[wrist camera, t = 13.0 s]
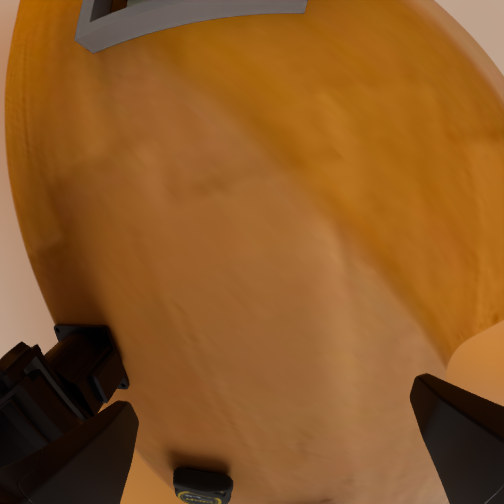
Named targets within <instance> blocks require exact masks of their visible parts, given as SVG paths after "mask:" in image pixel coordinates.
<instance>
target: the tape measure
mask: <svg viewBox="0 0 504 504" xmlns="http://www.w3.org/2000/svg"><path fill="white" fill-rule="evenodd" d="M173 475H174V476H173V485H174V487H175V494H176V496H177V497H178V498H179V499H180V500H182V501H183V502H186V503H188V504H228V503H229V501H230V498H231V492H232V490H233V480H232V479H231V478H230V477H229V476H226V475H221V474H214V473H208V472H201V471H195V470H190V469H185V468H176V469H174V473H173Z"/></svg>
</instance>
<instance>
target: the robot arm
mask: <svg viewBox="0 0 504 504" xmlns="http://www.w3.org/2000/svg"><path fill="white" fill-rule="evenodd" d="M54 330H55V333H56V336H57V339H58V341H59V342H58V343H57V344H56V345H55V346H54V347H53V348H52V349H50V350H49V351H48V352H47V353H46V354H45V355H43V354H42V352H41V349H40V347H39V346H38V344H36V345H34V346H33V347H31V348H30V347H29V346H28V345H26V344H25V343H23V342H20V343H19V344H17V345H16V346H15V347H14V348H12V349H11V350H10V351H9V352H7V353H6V354H5V355H4V356H3V357H2V358H1V359H0V504H120V501H121V497H122V494H123V490H124V487H125V483H126V480H127V476H128V473H129V470H130V466H131V463H132V458H133V453H134V447H135V442H136V436H137V431H138V426H139V421H138V417H137V415H136V413H135V411H134V409H133V407H132V405H131V404H130V403H129V402H127V401H120V400H119V401H116V402H114V403H113V404H111V405H110V406H108V407H107V408H105V409H104V410H102V411H101V412H99V410H100V409H101V407H102V405H103V404H104V403H108V401H109V400H110V398H111V397H112V395H113V393H114V392H115V390H116V389H128V387H129V385H130V384H129V381H128V379H127V376H126V373H125V370H124V368H123V365H122V363H121V360H120V357H119V355H118V352H117V350H116V347H115V344H114V341H113V339H112V336H111V333H110V330H109V328H108V327H107V326H104V325H77V324H56V325H55V326H54ZM103 331H105V333H104V332H103ZM124 384H125V385H124ZM410 402H411V405H412V408H413V410H414V413H415V416H416V419H417V423H418V426H419V429H420V432H421V435H422V437H423V440H424V442H425V444H426V447H427V449H428V451H429V453H430V456H431V458H432V460H433V463H434V465H435V467H436V470H437V472H438V475H439V477H440V480H441V482H442V485H443V487H444V490H445V492H446V495H447V498H448V500H449V503H450V504H504V406H501V405H499V404H496V403H494V402H491V401H489V400H487V399H484V398H482V397H480V396H477V395H475V394H473V393H471V392H468V391H466V390H464V389H461V388H459V387H457V386H455V385H452V384H450V383H448V382H446V381H444V380H441V379H439V378H437V377H435V376H433V375H430V374H428V373H425V374H422V375H419V376H416V378H415V379H414V383H413V386H412V390H411V393H410ZM98 412H99V413H98ZM97 413H98V414H97Z"/></svg>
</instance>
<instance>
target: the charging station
mask: <svg viewBox="0 0 504 504" xmlns="http://www.w3.org/2000/svg"><path fill="white" fill-rule="evenodd" d="M307 1H308V0H128V1H127V8H124V9H121V10H118V11H116V12H113V13H111V14H110V11H111V5H112V0H83V3H82V7H81V11H80V15H79V20H78V24H77V29H76V34H75V41H76V42H77V43H79V44H80V45H82V46H83V47H85V48H86V49H87V50H89V51H90V52H92V53H96V52H98V51H101V50H103V49H106V48H108V47H111V46H113V45H116V44H119V43H121V42H124V41H127V40H130V39H133V38H136V37H139V36H142V35H146V34H149V33H152V32H156V31H160V30H163V29H167V28H171V27H175V26H180V25H184V24H189V23H194V22H199V21H205V20H211V19H218V18H225V17H233V16H242V15H255V14H274V13H304V12H305V8H306V5H307Z"/></svg>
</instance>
